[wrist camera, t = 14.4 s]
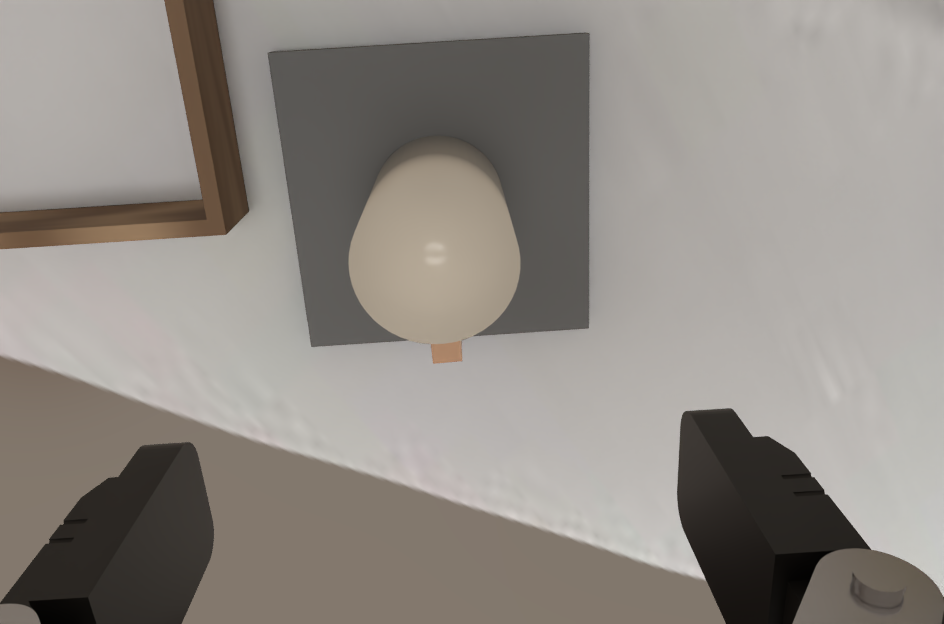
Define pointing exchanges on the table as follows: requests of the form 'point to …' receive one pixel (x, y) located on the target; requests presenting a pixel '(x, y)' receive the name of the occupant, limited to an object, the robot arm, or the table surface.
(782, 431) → the table surface
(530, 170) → the mat
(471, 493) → the table surface
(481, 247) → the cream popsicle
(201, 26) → the holder
